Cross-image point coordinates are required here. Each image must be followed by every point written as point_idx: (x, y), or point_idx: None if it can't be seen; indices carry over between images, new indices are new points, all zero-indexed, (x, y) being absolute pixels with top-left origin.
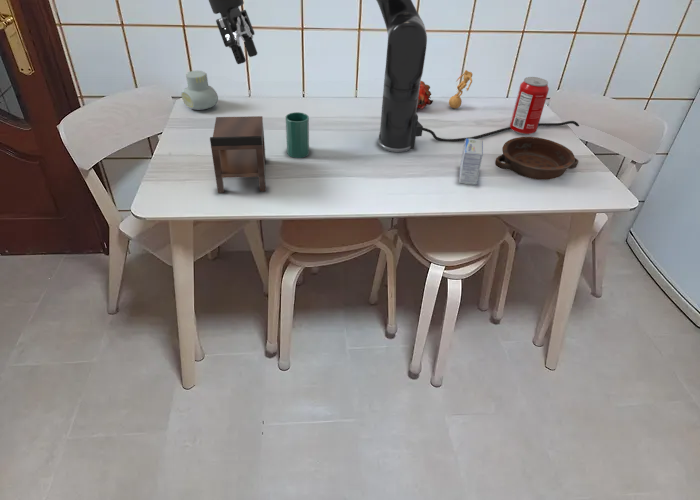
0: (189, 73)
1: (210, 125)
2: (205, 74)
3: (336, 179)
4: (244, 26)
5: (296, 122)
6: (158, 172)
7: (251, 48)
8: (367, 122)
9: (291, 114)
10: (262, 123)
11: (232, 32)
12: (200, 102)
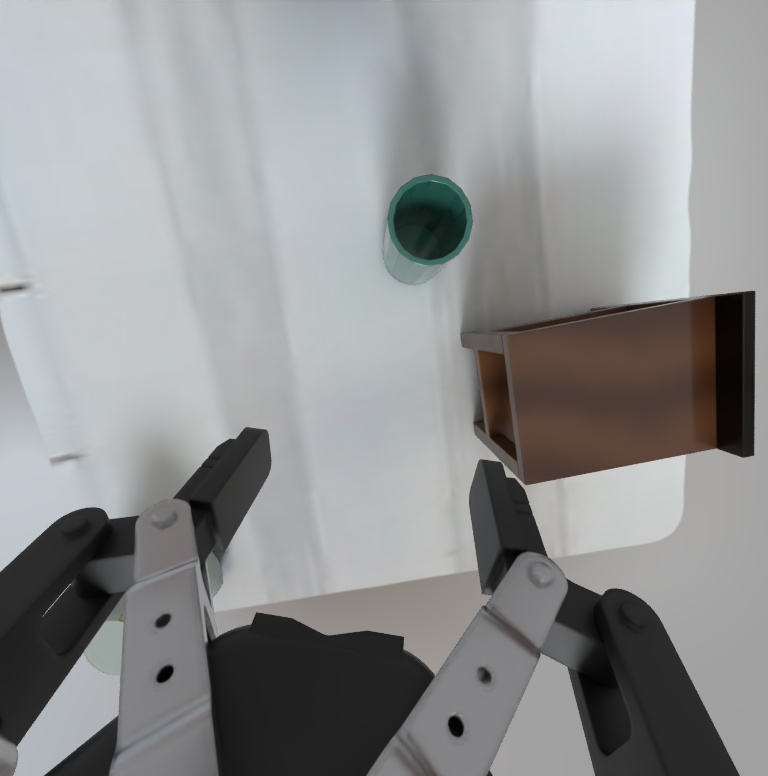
0: (119, 668)
1: (292, 510)
2: (110, 619)
3: (544, 130)
4: (206, 654)
5: (471, 218)
6: None
7: (247, 475)
8: (171, 35)
9: (402, 248)
10: (557, 325)
11: (651, 726)
12: (214, 571)
